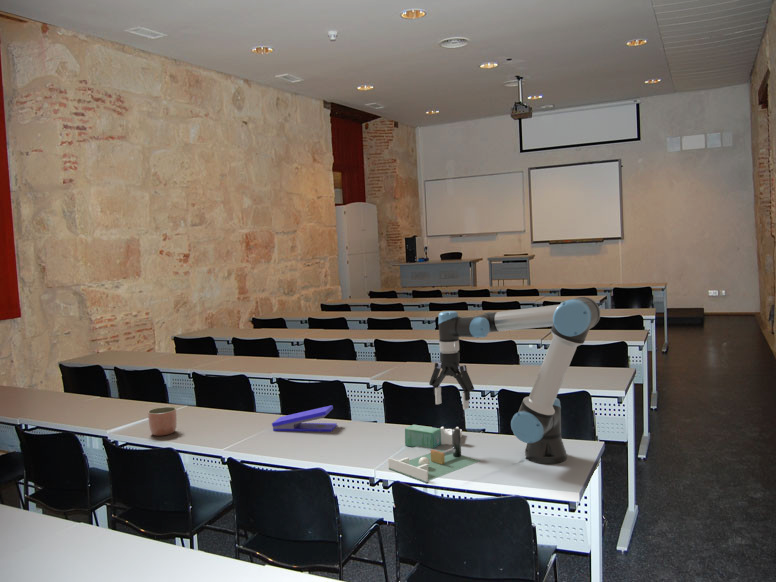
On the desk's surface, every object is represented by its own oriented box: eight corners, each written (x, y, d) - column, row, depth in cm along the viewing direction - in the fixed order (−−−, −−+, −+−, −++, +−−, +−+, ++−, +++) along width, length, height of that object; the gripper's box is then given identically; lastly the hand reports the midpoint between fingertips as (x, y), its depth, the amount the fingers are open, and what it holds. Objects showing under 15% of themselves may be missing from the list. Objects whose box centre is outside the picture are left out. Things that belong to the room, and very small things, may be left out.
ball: (432, 467, 228) (431, 457, 228) (424, 470, 226) (423, 459, 225) (424, 465, 231) (423, 454, 231) (416, 468, 229) (416, 457, 228)
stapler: (330, 432, 281) (329, 411, 280) (271, 431, 286) (270, 410, 286) (337, 425, 292) (336, 404, 292) (280, 424, 297) (279, 404, 297)
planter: (181, 433, 288) (179, 410, 288) (153, 439, 281) (151, 415, 281) (173, 427, 299) (172, 405, 298) (146, 433, 292) (144, 409, 291)
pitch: (480, 462, 234) (480, 451, 233) (426, 483, 215) (426, 471, 215) (442, 451, 249) (441, 440, 248) (388, 469, 231) (388, 458, 230)
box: (434, 450, 250) (433, 432, 249) (404, 446, 257) (404, 428, 257) (442, 445, 256) (441, 427, 256) (413, 441, 263) (413, 423, 263)
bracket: (458, 447, 253) (457, 428, 253) (441, 446, 255) (440, 428, 254) (461, 437, 266) (461, 419, 266) (445, 437, 268) (444, 419, 267)
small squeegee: (465, 455, 239) (464, 430, 238) (442, 464, 230) (441, 437, 230) (454, 452, 243) (453, 427, 242) (430, 460, 235) (429, 434, 234)
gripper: (481, 352, 234) (484, 408, 236) (431, 347, 252) (433, 399, 253) (469, 355, 229) (471, 413, 230) (418, 350, 247) (421, 403, 248)
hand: (452, 406), depth 242 cm, fingers open, 13 cm apart
